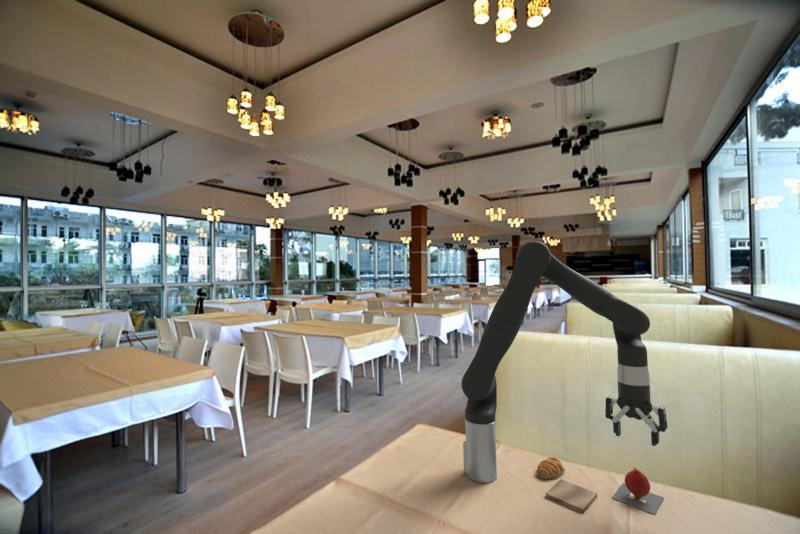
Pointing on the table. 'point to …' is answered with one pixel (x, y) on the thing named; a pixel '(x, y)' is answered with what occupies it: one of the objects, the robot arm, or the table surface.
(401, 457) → the table surface
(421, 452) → the table surface
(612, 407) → the robot arm
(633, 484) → the onion
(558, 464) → the pastry
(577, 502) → the beige coaster
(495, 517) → the table surface
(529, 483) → the table surface
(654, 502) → the mat
